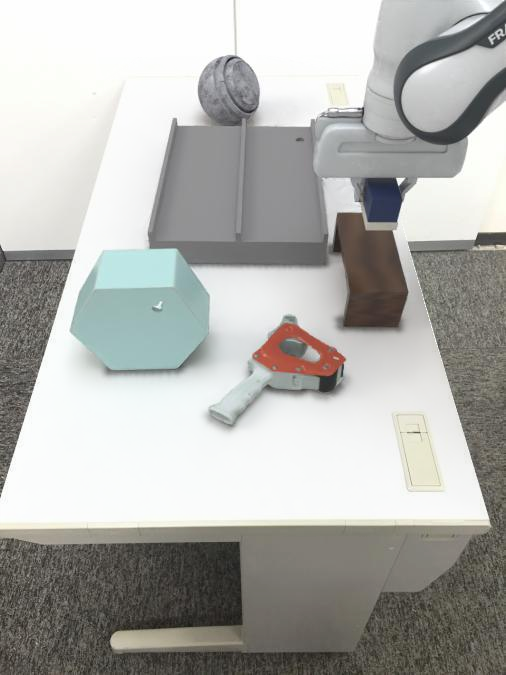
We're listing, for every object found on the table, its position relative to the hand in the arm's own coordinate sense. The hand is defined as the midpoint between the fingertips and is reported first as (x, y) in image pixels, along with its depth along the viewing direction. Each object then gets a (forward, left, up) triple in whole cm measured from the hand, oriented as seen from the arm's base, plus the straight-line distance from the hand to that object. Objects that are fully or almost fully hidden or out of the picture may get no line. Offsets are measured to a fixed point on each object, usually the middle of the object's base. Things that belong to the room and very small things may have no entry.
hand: (378, 199), depth 78 cm
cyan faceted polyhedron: (+7, +36, -19) cm, 42 cm away
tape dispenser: (-8, +22, -19) cm, 30 cm away
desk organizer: (+34, +3, -19) cm, 39 cm away
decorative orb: (+63, -11, -19) cm, 67 cm away
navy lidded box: (0, 0, -2) cm, 2 cm away
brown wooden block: (+1, -2, -19) cm, 19 cm away
